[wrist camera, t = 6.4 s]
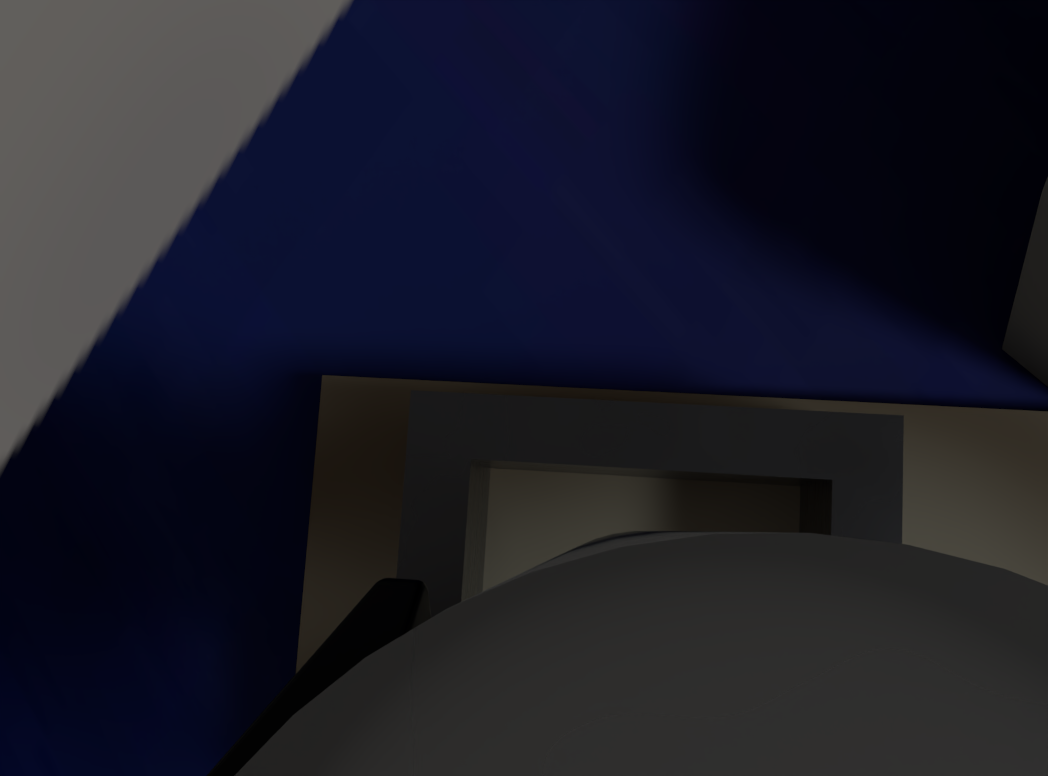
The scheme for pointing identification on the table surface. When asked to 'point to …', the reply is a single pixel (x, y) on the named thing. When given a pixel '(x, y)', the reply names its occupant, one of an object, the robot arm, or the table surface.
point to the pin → (701, 669)
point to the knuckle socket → (631, 466)
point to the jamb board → (652, 491)
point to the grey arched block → (1032, 301)
